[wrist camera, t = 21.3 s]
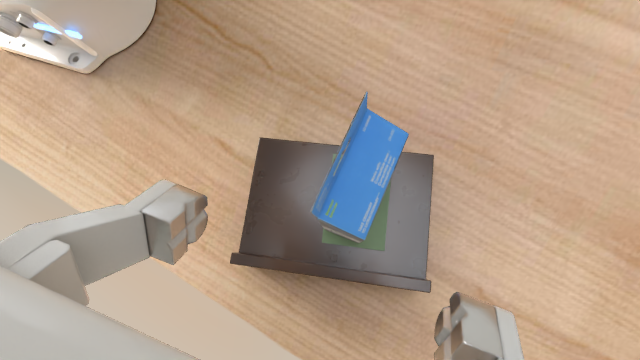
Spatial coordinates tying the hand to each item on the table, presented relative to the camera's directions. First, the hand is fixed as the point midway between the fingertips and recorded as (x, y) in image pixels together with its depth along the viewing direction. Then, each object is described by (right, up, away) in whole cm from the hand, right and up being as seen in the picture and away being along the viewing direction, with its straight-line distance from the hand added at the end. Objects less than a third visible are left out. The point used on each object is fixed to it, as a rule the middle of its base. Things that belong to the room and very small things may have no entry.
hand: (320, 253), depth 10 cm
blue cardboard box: (+4, +1, +22) cm, 22 cm away
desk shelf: (+2, -1, +25) cm, 25 cm away
